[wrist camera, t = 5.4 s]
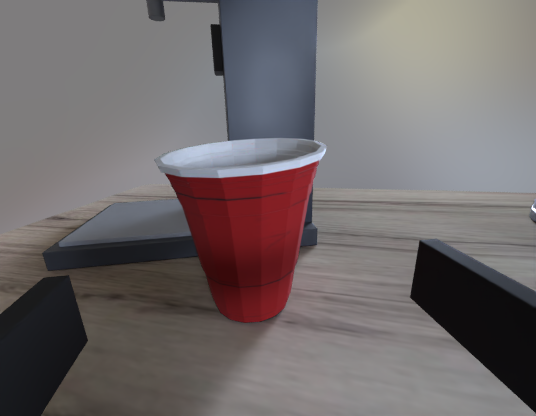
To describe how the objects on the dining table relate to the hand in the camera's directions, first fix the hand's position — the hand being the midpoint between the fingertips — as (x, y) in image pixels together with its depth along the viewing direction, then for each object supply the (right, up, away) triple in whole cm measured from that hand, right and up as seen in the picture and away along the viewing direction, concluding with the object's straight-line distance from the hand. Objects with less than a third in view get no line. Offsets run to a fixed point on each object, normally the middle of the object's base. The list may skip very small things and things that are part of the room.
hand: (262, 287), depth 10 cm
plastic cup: (-1, -4, +11) cm, 12 cm away
